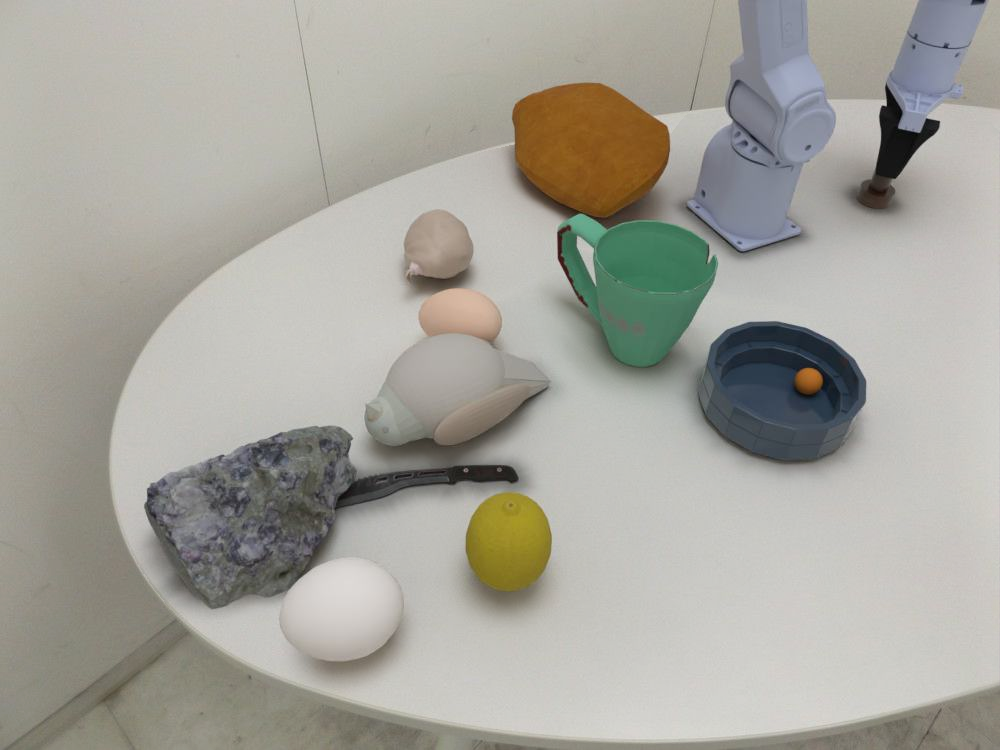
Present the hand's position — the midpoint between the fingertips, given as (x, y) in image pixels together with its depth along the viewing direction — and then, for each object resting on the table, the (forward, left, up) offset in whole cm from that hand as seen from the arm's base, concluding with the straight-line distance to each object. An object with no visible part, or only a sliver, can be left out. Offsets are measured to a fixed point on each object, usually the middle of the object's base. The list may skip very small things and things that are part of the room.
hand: (887, 163), depth 90 cm
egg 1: (+25, -66, 0) cm, 70 cm away
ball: (+20, -28, -3) cm, 34 cm away
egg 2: (+6, -49, 0) cm, 50 cm away
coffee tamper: (0, 0, -4) cm, 4 cm away
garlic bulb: (-8, -45, -2) cm, 46 cm away
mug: (+7, -38, -5) cm, 39 cm away
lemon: (+25, -58, -5) cm, 63 cm away
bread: (-15, -26, -6) cm, 30 cm away
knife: (+17, -61, -4) cm, 64 cm away
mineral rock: (+10, -72, -1) cm, 73 cm away
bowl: (+20, -31, -4) cm, 37 cm away
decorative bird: (+10, -55, -4) cm, 56 cm away
